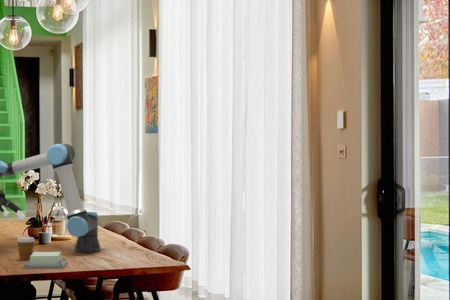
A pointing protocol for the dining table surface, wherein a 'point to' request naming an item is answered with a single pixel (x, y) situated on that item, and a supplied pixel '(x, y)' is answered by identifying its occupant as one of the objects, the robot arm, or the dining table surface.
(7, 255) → the dining table surface
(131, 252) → the dining table surface
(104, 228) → the dining table surface
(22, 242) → the disposable coffee cup
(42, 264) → the tower base
